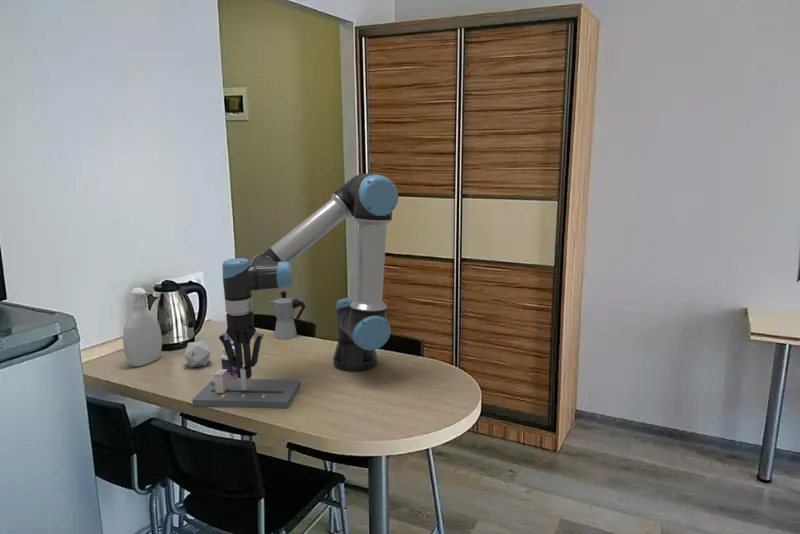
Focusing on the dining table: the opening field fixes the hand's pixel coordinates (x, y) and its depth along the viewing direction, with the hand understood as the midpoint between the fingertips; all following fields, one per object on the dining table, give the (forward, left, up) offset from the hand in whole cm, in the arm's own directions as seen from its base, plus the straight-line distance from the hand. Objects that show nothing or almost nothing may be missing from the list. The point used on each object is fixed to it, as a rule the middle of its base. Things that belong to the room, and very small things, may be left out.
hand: (245, 387), depth 177 cm
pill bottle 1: (+16, -33, -3) cm, 37 cm away
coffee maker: (+3, -57, -3) cm, 57 cm away
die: (+26, -25, -3) cm, 36 cm away
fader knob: (+7, 0, -1) cm, 7 cm away
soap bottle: (+45, -26, -3) cm, 52 cm away
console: (0, -1, -3) cm, 3 cm away
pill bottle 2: (+11, -16, -3) cm, 20 cm away
